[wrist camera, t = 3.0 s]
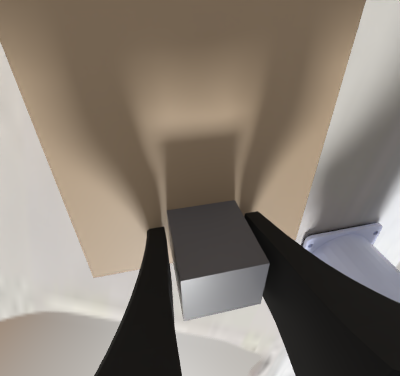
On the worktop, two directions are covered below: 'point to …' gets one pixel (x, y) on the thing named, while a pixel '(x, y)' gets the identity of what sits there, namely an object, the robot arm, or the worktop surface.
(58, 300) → the worktop surface
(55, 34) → the carton lid
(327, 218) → the worktop surface
